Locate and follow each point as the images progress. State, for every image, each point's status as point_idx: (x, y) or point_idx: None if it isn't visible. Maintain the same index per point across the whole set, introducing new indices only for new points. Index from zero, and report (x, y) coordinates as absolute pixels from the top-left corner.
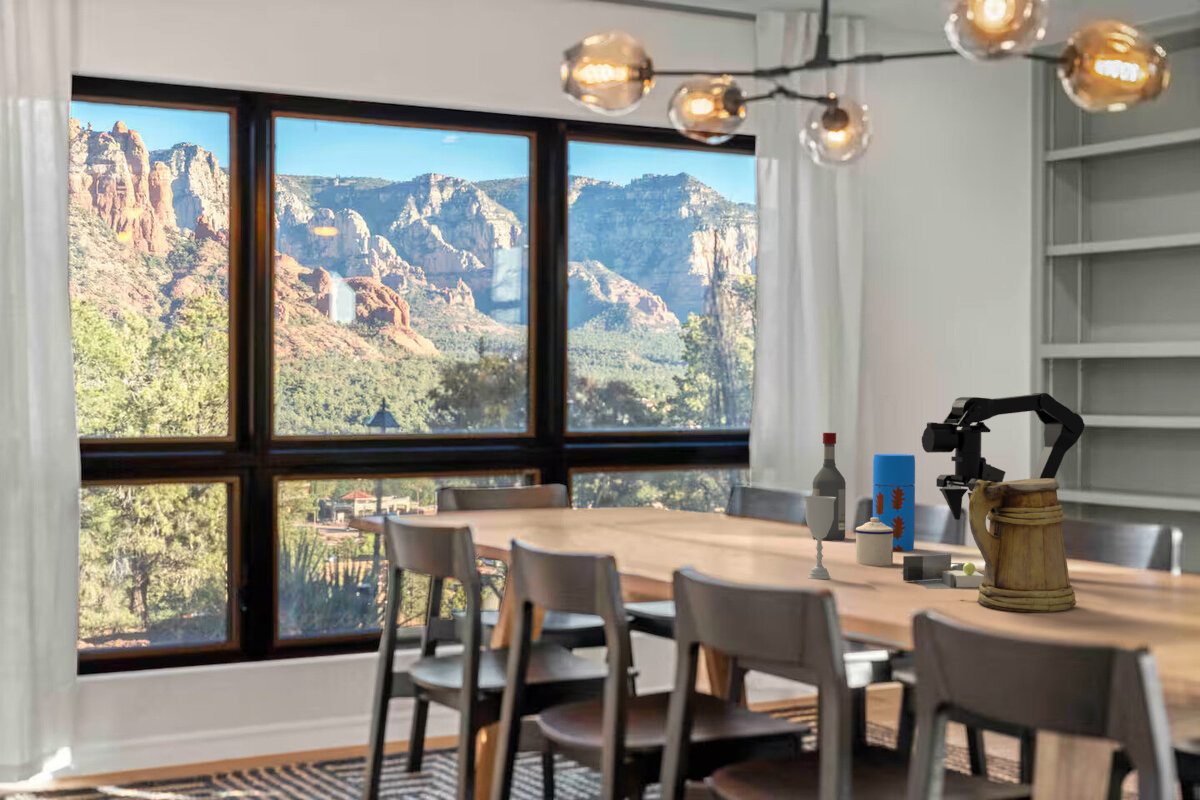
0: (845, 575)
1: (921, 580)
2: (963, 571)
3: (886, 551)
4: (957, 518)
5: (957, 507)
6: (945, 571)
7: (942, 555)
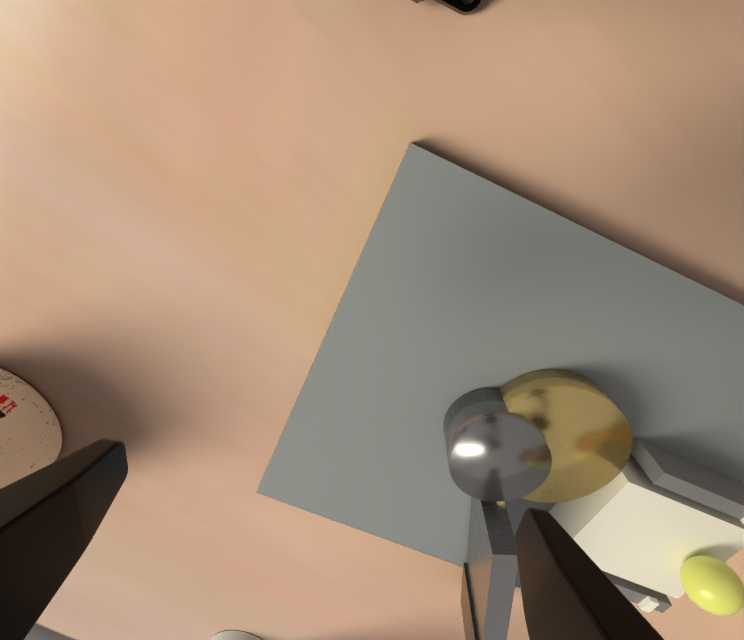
0: (210, 587)
1: (464, 548)
2: (611, 523)
3: (2, 463)
4: (120, 466)
5: (8, 577)
6: None
7: (513, 587)
